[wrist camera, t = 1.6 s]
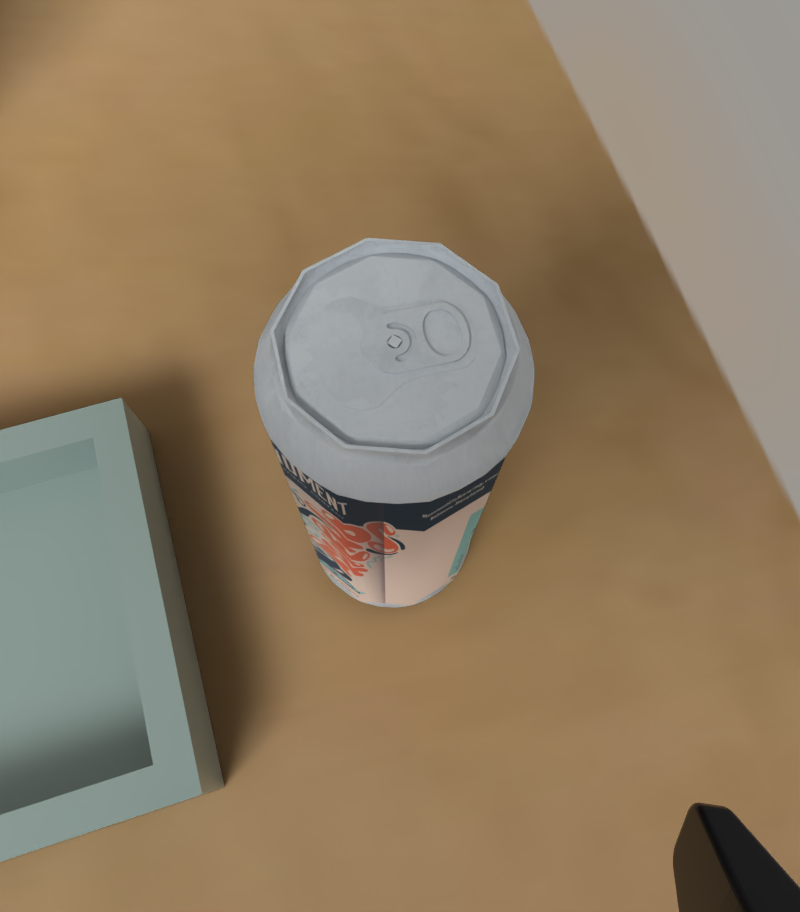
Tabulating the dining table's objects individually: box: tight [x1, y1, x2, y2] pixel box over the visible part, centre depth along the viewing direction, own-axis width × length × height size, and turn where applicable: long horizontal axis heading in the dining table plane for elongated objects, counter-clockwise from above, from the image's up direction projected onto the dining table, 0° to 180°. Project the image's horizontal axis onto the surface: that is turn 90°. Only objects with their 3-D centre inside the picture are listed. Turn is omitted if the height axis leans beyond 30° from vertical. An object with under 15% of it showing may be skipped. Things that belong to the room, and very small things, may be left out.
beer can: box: [253, 238, 535, 608], centre depth 17 cm, size 5×5×12 cm
